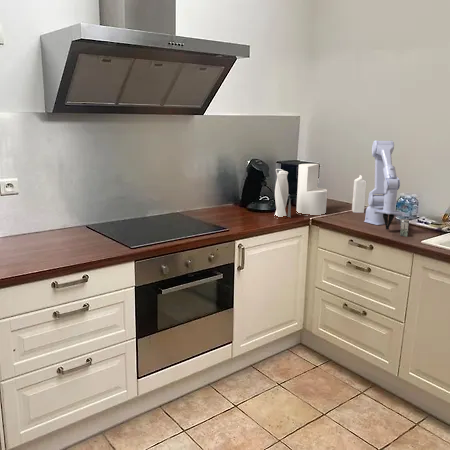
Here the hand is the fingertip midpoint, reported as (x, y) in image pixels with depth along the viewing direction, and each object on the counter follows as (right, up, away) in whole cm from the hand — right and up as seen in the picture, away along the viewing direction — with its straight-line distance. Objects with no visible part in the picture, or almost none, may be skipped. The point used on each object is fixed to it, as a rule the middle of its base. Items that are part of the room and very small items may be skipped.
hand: (387, 228), depth 231 cm
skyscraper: (-50, +6, +28) cm, 58 cm away
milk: (-2, +10, +45) cm, 46 cm away
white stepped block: (-31, +9, +42) cm, 53 cm away
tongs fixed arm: (+10, -1, +3) cm, 10 cm away
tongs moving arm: (+9, -1, +2) cm, 9 cm away
